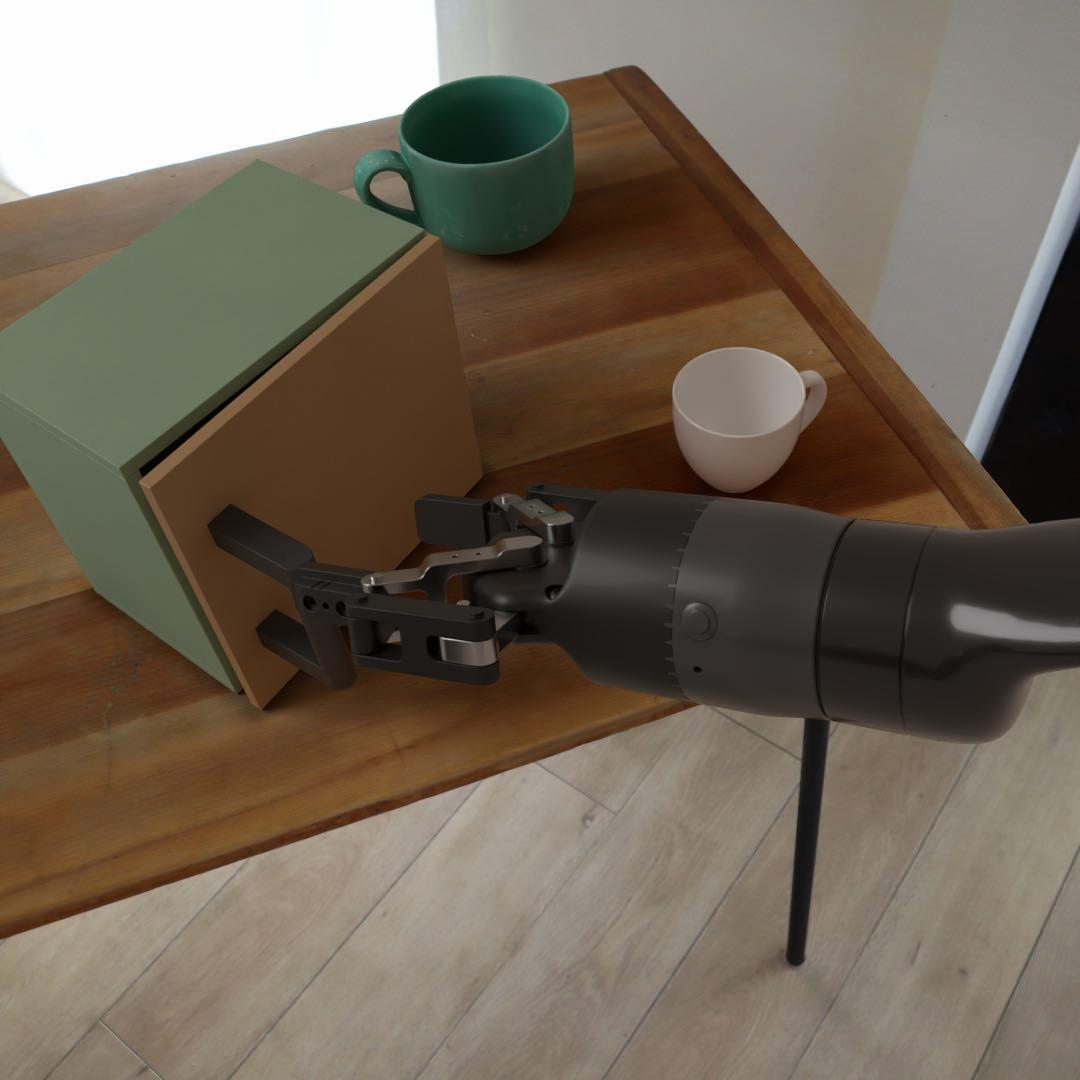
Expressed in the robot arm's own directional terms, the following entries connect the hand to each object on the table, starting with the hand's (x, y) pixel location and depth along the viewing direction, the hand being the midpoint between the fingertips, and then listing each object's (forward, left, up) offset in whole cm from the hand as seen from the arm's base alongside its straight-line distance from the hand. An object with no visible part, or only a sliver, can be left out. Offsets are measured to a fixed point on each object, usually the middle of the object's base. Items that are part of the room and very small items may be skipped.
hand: (363, 550), depth 50 cm
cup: (+27, +2, -17) cm, 32 cm away
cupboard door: (+5, +8, -17) cm, 19 cm away
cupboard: (+3, +19, -17) cm, 25 cm away
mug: (+32, +34, -17) cm, 49 cm away
